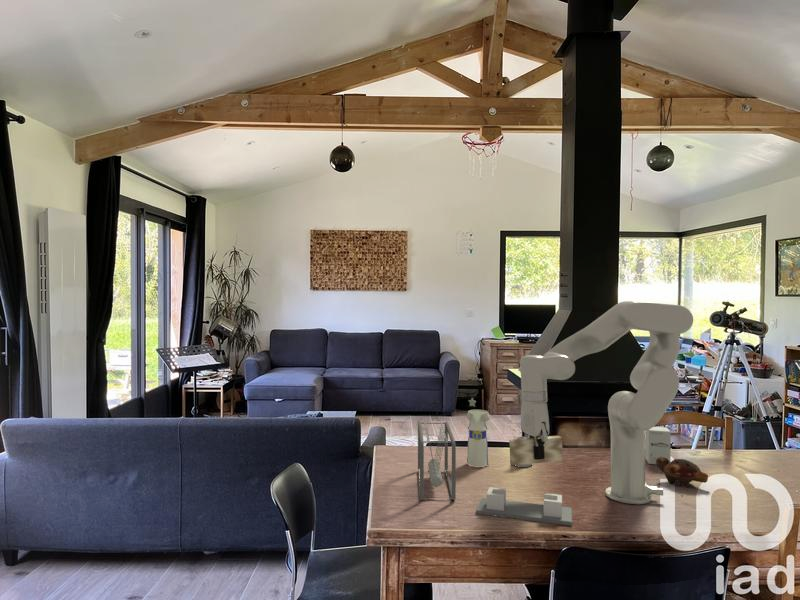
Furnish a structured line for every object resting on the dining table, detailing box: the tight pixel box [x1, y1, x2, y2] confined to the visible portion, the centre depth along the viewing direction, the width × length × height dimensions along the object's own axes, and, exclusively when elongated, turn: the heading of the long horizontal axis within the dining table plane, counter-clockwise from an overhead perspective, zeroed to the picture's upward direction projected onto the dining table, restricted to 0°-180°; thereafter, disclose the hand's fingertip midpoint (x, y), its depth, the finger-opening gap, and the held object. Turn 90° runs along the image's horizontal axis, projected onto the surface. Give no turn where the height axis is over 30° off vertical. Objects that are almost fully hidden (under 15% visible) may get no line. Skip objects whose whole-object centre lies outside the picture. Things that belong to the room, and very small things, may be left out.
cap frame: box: [476, 486, 573, 527], centre depth 141 cm, size 25×10×5 cm, turn 72°
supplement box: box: [645, 426, 672, 465], centre depth 189 cm, size 7×7×13 cm
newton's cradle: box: [417, 420, 457, 501], centre depth 163 cm, size 30×10×18 cm, turn 179°
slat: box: [509, 435, 564, 466], centre depth 153 cm, size 16×2×7 cm, turn 102°
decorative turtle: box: [655, 457, 709, 488], centre depth 165 cm, size 10×15×8 cm, turn 51°
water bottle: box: [466, 397, 491, 466], centre depth 185 cm, size 8×9×25 cm
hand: (536, 457), depth 153 cm, fingers closed on slat, 2 cm apart
